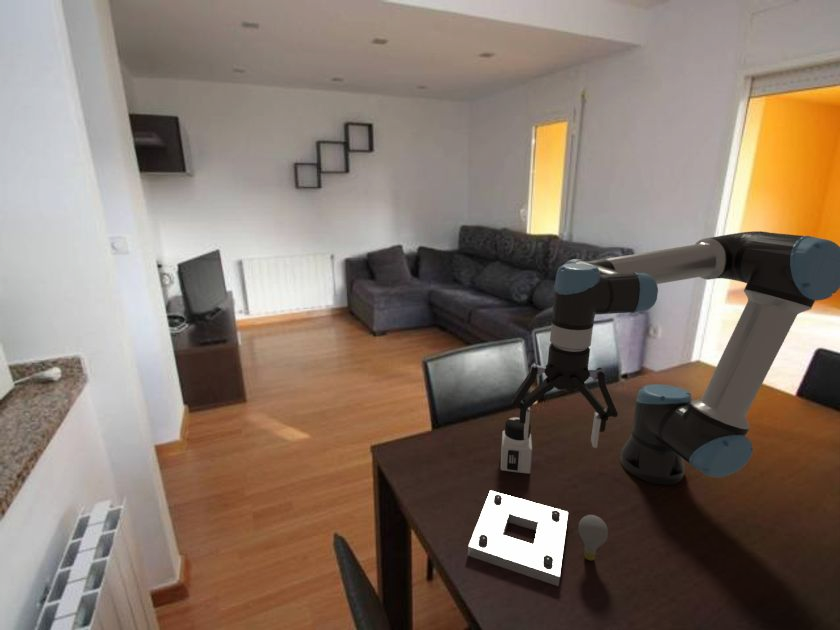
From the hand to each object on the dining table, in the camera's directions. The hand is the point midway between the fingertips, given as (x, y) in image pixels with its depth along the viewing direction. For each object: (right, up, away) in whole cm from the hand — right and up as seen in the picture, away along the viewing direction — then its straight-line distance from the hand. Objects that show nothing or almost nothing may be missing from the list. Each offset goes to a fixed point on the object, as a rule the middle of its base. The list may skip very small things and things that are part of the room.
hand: (559, 440), depth 89 cm
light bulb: (+6, -24, -1) cm, 25 cm away
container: (-3, -15, +28) cm, 32 cm away
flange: (-7, -22, +4) cm, 24 cm away
